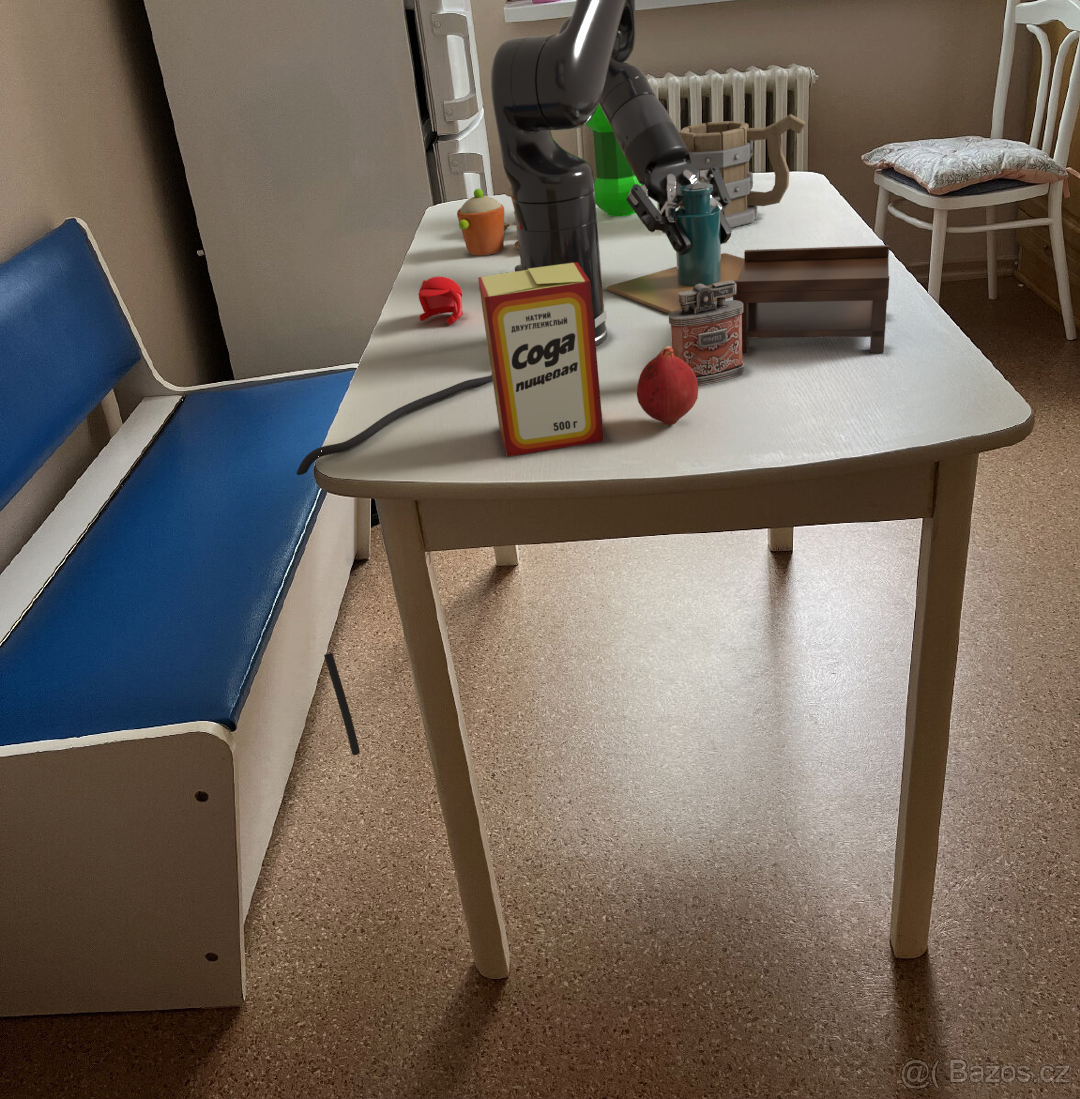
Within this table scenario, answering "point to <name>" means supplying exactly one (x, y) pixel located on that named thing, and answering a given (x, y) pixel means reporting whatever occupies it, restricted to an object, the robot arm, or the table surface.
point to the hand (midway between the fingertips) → (706, 245)
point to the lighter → (709, 332)
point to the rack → (815, 293)
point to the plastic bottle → (610, 169)
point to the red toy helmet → (440, 298)
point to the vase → (699, 237)
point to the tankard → (740, 161)
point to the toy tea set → (483, 224)
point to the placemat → (670, 285)
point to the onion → (667, 387)
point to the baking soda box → (543, 357)
